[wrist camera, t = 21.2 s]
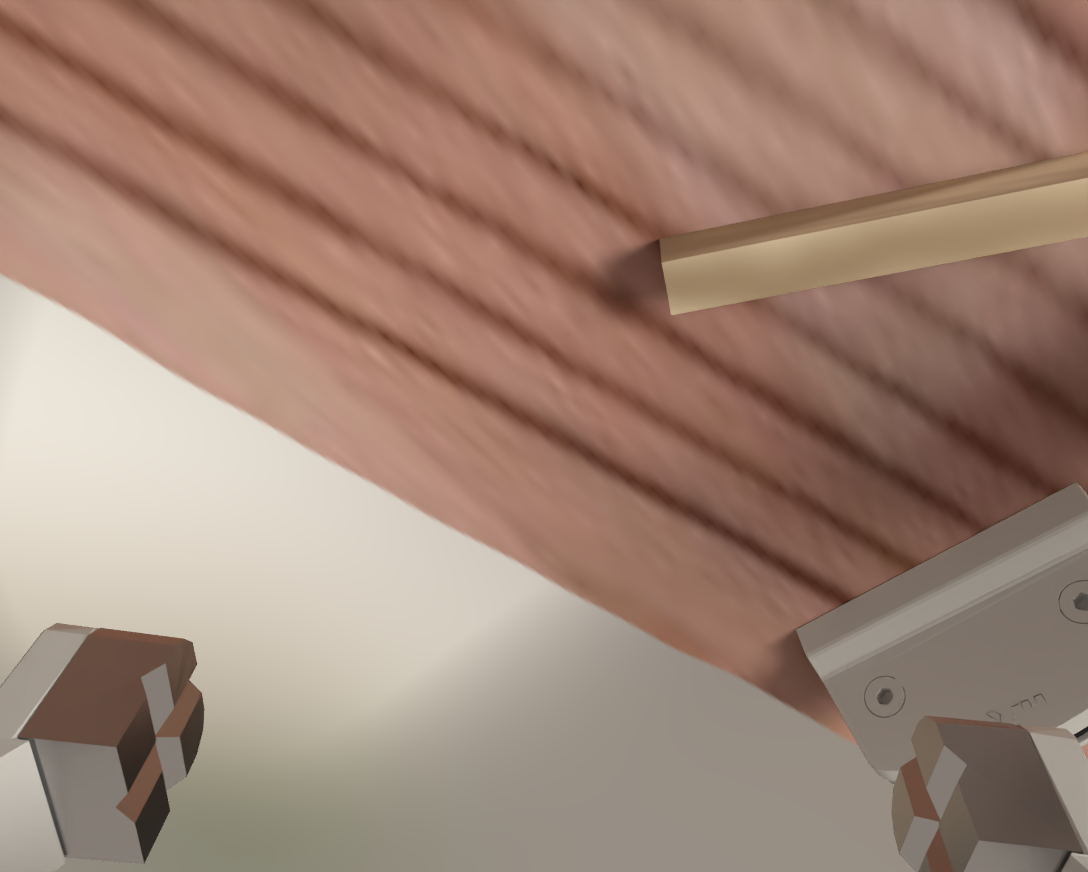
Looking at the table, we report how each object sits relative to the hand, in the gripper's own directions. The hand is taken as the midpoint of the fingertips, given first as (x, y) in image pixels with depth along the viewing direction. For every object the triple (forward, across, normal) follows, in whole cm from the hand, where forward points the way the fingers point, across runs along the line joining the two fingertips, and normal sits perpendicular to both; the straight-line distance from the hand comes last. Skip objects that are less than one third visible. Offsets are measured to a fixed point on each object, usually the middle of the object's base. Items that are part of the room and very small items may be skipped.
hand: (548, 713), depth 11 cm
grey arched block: (+34, -22, +24) cm, 47 cm away
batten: (+33, -12, +4) cm, 36 cm away
